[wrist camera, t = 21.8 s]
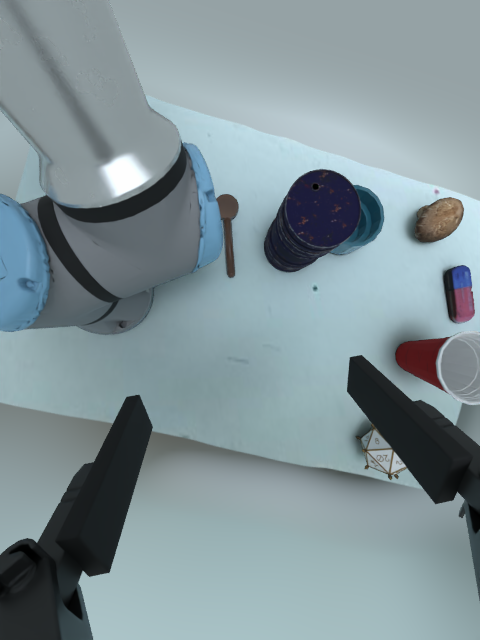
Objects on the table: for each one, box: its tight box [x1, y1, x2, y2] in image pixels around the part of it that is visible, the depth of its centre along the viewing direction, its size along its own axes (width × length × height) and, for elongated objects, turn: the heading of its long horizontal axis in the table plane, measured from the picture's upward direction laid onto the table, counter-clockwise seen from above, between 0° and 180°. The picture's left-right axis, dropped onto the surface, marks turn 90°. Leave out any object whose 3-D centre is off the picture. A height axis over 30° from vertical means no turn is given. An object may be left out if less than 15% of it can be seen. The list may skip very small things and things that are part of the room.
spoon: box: [216, 194, 238, 278], centre depth 41 cm, size 15×4×1 cm, turn 4°
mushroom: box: [415, 197, 464, 242], centre depth 42 cm, size 8×8×6 cm
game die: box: [356, 424, 407, 480], centre depth 40 cm, size 9×8×10 cm
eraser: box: [444, 265, 475, 323], centre depth 44 cm, size 11×4×2 cm, turn 10°
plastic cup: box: [395, 331, 480, 405], centre depth 38 cm, size 11×11×12 cm
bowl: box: [330, 185, 384, 255], centre depth 40 cm, size 10×10×6 cm
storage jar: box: [264, 169, 361, 272], centre depth 35 cm, size 10×10×15 cm
